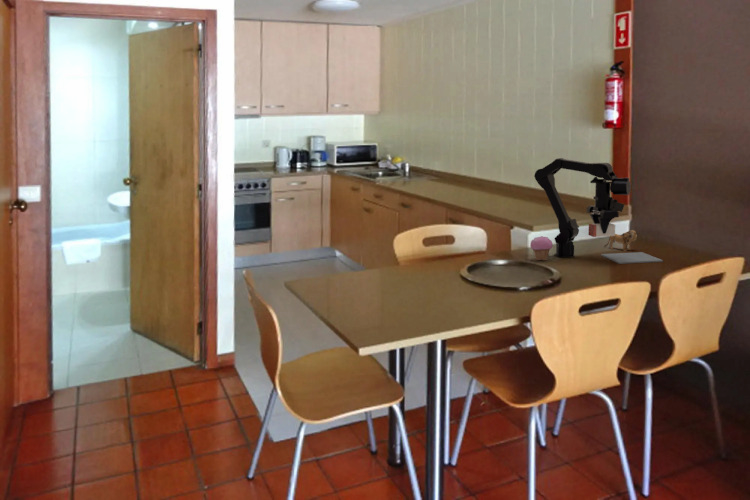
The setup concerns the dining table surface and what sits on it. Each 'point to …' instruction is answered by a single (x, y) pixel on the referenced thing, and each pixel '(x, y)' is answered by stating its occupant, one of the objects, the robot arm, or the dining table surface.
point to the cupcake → (541, 247)
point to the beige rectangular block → (597, 231)
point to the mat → (631, 258)
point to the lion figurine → (623, 239)
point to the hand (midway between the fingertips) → (601, 232)
